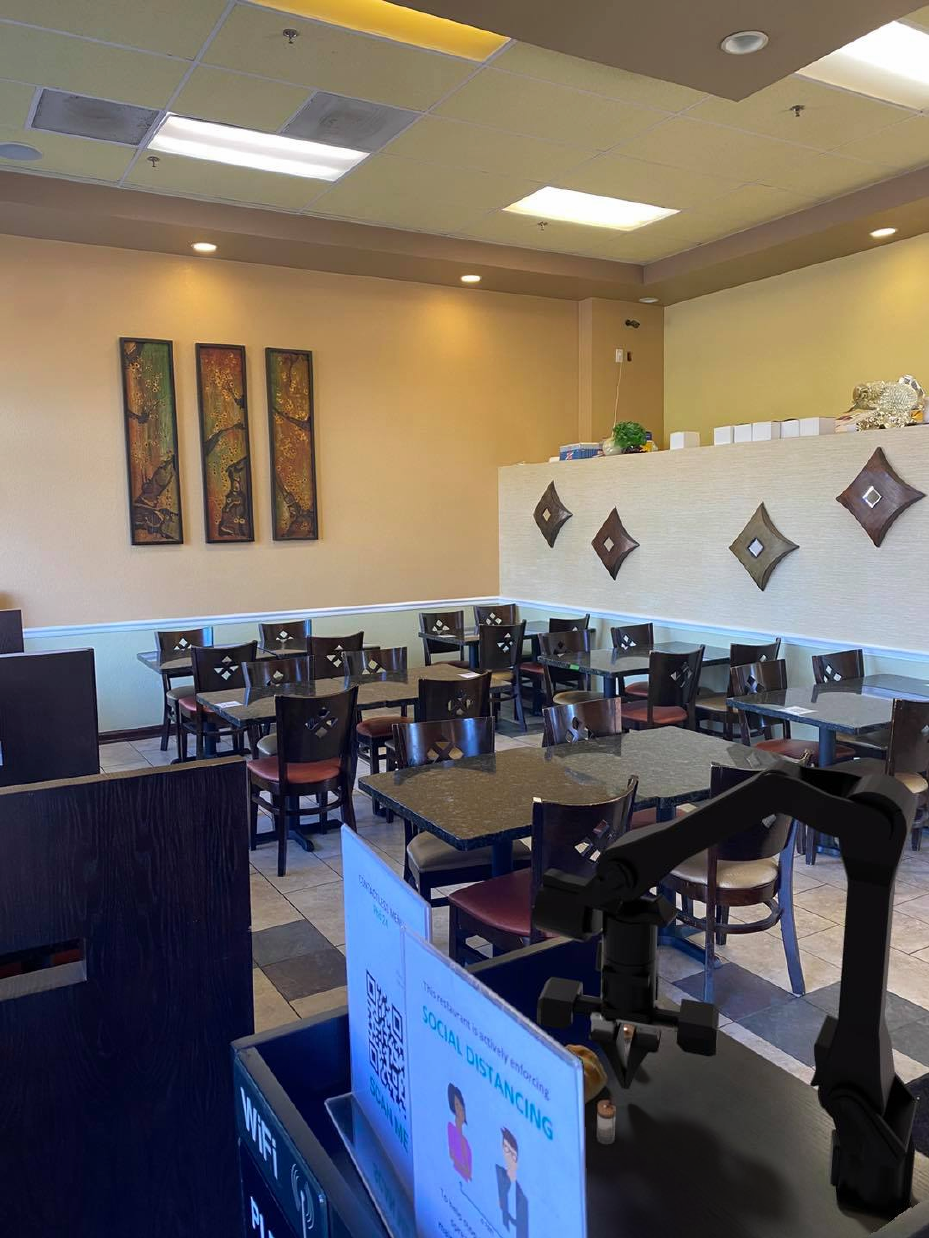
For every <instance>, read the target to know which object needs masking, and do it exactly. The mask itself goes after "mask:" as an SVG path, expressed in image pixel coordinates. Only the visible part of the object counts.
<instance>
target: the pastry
mask: <svg viewBox="0 0 929 1238" xmlns="http://www.w3.org/2000/svg"><path fill="white" fill-rule="evenodd" d="M564 1047H565V1048H567V1049H569V1050H570V1051H571V1052H572V1053H573V1054H575V1055H577V1056H578V1057H580V1058H581V1059H582V1060H583V1065H584V1075H585V1102H586V1103H585V1104H587V1103H588V1102H590V1101H591V1100H592V1099H594V1098H595V1097H596V1096H597V1095H598V1094H599V1093H601V1092H602V1090H603V1088H605V1086H606V1084H607V1083H608V1075H607V1073H606V1072H605V1070H604V1067H603V1065H602V1064H601V1062H600V1061H599V1057H598V1056H597V1055H596V1053H595V1052H593V1051H592V1050H590V1049H589V1048H588V1047H585V1046H583V1045H580V1044H578V1045H573V1044H567V1045H566V1046H564Z"/></svg>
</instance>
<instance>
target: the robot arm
mask: <svg viewBox="0 0 929 1238" xmlns="http://www.w3.org/2000/svg"><path fill="white" fill-rule="evenodd" d="M917 808H918V807H917V801H916V796H915V795H914V792H913V791H911V789H910V788H909V787H908V786H907V785H906V784H905V782H903V781H902V780H900V779H898V778H897V777H895V776H892V775H889V774H887V773H886V774H885V773H871V774H868V775H862V774H859V773H854V772H850V771H847V770H842V769H831V768H826V767H825V768H824V767H816V766H810V765H809V766H808V765H804V764H801V763H797V762H794V761H790V760H787V759H786V760H785V759H784V760H783V759H779V760H776V761H773V762H771V763H770V764H769V765H768V766H767V767H766V768H765V769H764V770H762V771H760V772H759V773H757V774H755V775H753V776H751V777H749V778H748V779H746V780H745V781H742V782H740V783H738V784H736V785H735V786H733V787H731V788H730V789H727V790H726V791H724V792H722V793H721V794H718V795H717V796H714V797H713V798H711V799H709V800H708V801H705V802H704V803H702V804H701V805H698V806H697V807H695V808H693V809H692V810H689V811H688V812H686V813H684V814H682V815H680V816H679V817H676V818H674V819H671V820H669V821H664V822H657V823H652V824H651V823H650V824H648V825H646V826H641V827H639V828H635V829H633V830H630V831H628V832H625V833H624V834H623V835H622V836H621V837H619V838H618V839H616V841H615V842H614V843H612V844H610V846H609V847H607V848H606V849H605V850H604V851H603V852H601V854H599V855H598V856H597V858H596V866H595V870H596V871H595V872H596V873H595V874H594V875H593V876H592V877H590V878H586V877H581V876H578V875H573V874H569V873H566V872H564V871H563V870H559V869H556V868H552V867H550V869H548V870H547V871H545V872H544V873H543V874H542V875H541V885H540V886H539V889H538V890H537V893H536V895H535V901H534V905H533V906H532V908H531V920H532V924H533V927H534V928H535V929H536V930H538V931H542V932H544V933H549V934H552V935H556V936H559V937H561V938H562V937H563V938H565V939H566V938H567V939H570V940H572V941H577V942H581V943H587V942H589V941H590V940H591V939H592V937H593V936H598V935H599V934H600V932H601V931H602V932H601V939H600V940H599V941H598V946H597V951H596V959H595V970H596V971H597V972H601V974H600V975H601V977H600V980H601V981H600V997H596V996H592V995H585V994H584V991H583V989H584V987H583V985H584V984H583V982H582V981H578V980H573V979H568V978H567V979H566V978H561V977H556V976H555V977H554V976H551V977H550V978H549V979H548V980H546V982H545V984H544V986H543V989H542V991H541V993H540V996H539V997H538V1000H537V1006H536V1022H537V1023H538V1025H540V1026H541V1027H546V1028H547V1027H548V1028H554V1029H559V1030H563V1031H565V1030H566V1029H568V1028H569V1027H570V1026H571V1025H572V1024H573V1015H574V1014H575V1015H581V1016H587V1017H590V1021H591V1028H590V1032H589V1035H588V1036H589V1037H588V1038H589V1040H590V1041H591V1042H593V1043H597V1044H598V1045H599V1047H600V1048H601V1050H602V1052H603V1055H605V1057H606V1058H607V1060H608V1062H609V1064H610V1066H611V1068H612V1070H613V1072H614V1075H615V1077H616V1080H617V1082H618V1084H619V1086H620V1088H621V1089H622V1090H626V1091H629V1090H630V1088H631V1085H632V1084H633V1081H634V1078H635V1076H636V1075H637V1071H638V1070H639V1067H640V1065H641V1064H642V1063H643V1061H644V1060H645V1058H646V1057H647V1055H648V1054H649V1053H651V1054H652V1053H653V1054H657V1053H658V1052H660V1046H661V1043H662V1038H663V1037H662V1036H663V1032H664V1031H666V1032H671V1033H676V1045H677V1046H678V1047H679V1048H680V1049H681V1051H683V1052H684V1053H688V1054H692V1055H699V1056H704V1057H709V1058H711V1057H714V1056H716V1055H717V1046H718V1037H719V1028H720V1010H719V1009H718V1008H717V1006H716V1005H715V1003H710V1002H704V1001H700V1000H698V1001H697V1000H691V999H686V998H681V1002H680V1003H681V1004H680V1008H679V1011H677V1010H671V1009H665V1008H664V1005H662V1004H659V1003H656V1001H658V1000H659V991H660V974H659V965H660V956H659V955H657V951H658V949H657V948H658V946H657V943H658V927H660V928H664V929H665V928H668V926H669V925H670V924H671V923H672V922H673V921H674V919H675V918H676V917H678V915H679V910H678V908H676V906H674V905H673V903H671V902H670V901H668V900H667V899H666V897H665V895H664V894H662V893H660V894H659V895H658V896H656V897H655V898H650V897H646V896H644V895H645V894H647V893H648V892H649V891H650V890H651V889H653V888H654V887H655V886H656V885H658V884H659V883H660V882H661V881H662V880H663V879H664V878H666V877H667V876H668V875H669V874H670V873H671V872H673V871H674V870H675V869H676V868H677V867H679V866H680V865H682V863H683V862H685V861H686V860H688V859H690V858H692V857H695V856H696V855H698V854H700V853H702V852H704V851H705V850H707V849H709V848H711V847H713V846H715V845H717V844H718V843H721V842H723V841H725V840H727V839H728V838H730V837H732V836H734V835H736V834H739V833H740V832H743V831H744V830H747V829H748V828H750V827H752V826H754V825H756V824H758V823H759V822H761V821H763V820H766V819H768V818H769V817H771V816H772V815H775V814H777V813H779V814H781V815H785V816H788V817H791V818H792V819H794V820H795V821H798V822H800V823H801V824H803V825H805V826H807V827H809V828H810V829H812V830H814V831H817V833H820V834H823V835H826V836H830V837H833V838H836V839H837V841H838V849H839V857H840V859H841V863H842V867H843V869H844V872H845V876H846V882H847V887H846V888H847V889H846V903H845V905H846V906H845V915H844V916H845V917H844V932H843V944H842V945H843V946H842V960H841V971H840V986H839V987H840V989H839V1001H838V1013H837V1014H838V1015H837V1016H838V1018H835V1017H834V1016H831V1015H829V1014H826V1015H825V1018H824V1020H823V1023H822V1025H821V1027H820V1030H819V1032H818V1034H817V1036H816V1040H815V1042H814V1044H813V1058H814V1064H815V1066H814V1067H815V1068H814V1069H815V1071H814V1074H813V1076H812V1078H811V1080H810V1083H809V1085H810V1086H811V1087H813V1088H814V1087H817V1100H818V1102H819V1105H820V1107H821V1109H823V1110H824V1111H825V1112H826V1113H827V1114H828V1116H829V1117H830V1118H831V1119H832V1121H833V1125H834V1128H833V1129H832V1130H831V1132H830V1133H831V1134H830V1147H829V1161H828V1169H829V1170H828V1172H829V1183H830V1185H831V1186H832V1187H833V1188H834V1191H835V1202H836V1205H837V1207H839V1208H841V1209H845V1210H849V1211H853V1212H856V1213H857V1212H858V1213H862V1214H865V1215H869V1216H874V1217H878V1218H883V1219H886V1220H891V1221H894V1220H893V1219H894V1218H895V1217H897V1216H898V1215H899V1214H901V1213H903V1212H904V1211H906V1210H907V1209H908V1208H910V1207H912V1208H913V1206H912V1201H911V1200H912V1189H913V1178H914V1166H915V1159H916V1158H915V1156H916V1146H915V1143H914V1139H913V1134H912V1128H913V1123H914V1118H915V1114H916V1109H917V1104H918V1099H917V1097H916V1095H915V1094H914V1093H913V1092H912V1091H911V1089H910V1088H909V1087H908V1086H907V1085H906V1084H905V1081H903V1080H902V1079H901V1077H900V1076H899V1074H898V1073H897V1072H896V1071H895V1062H894V1055H893V1054H894V1053H893V1046H892V1045H893V1044H892V1039H891V1036H890V1032H889V1029H888V1026H887V1025H888V1024H887V1022H886V1006H887V1005H886V1004H887V992H888V991H887V990H888V980H889V979H888V978H889V967H890V955H891V953H890V952H891V942H892V941H891V940H892V929H893V916H894V906H895V905H894V904H895V903H894V902H895V891H896V878H897V875H898V873H899V869H900V866H901V863H902V860H903V856H904V853H905V850H906V848H907V844H908V840H909V838H910V834H911V830H912V827H913V824H914V820H915V818H916V817H915V816H916V813H917ZM624 1024H630V1025H632V1026H634V1032H633V1036H632V1040H631V1044H630V1049H629V1056H628V1062H626V1052H625V1040H624Z"/></svg>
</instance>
